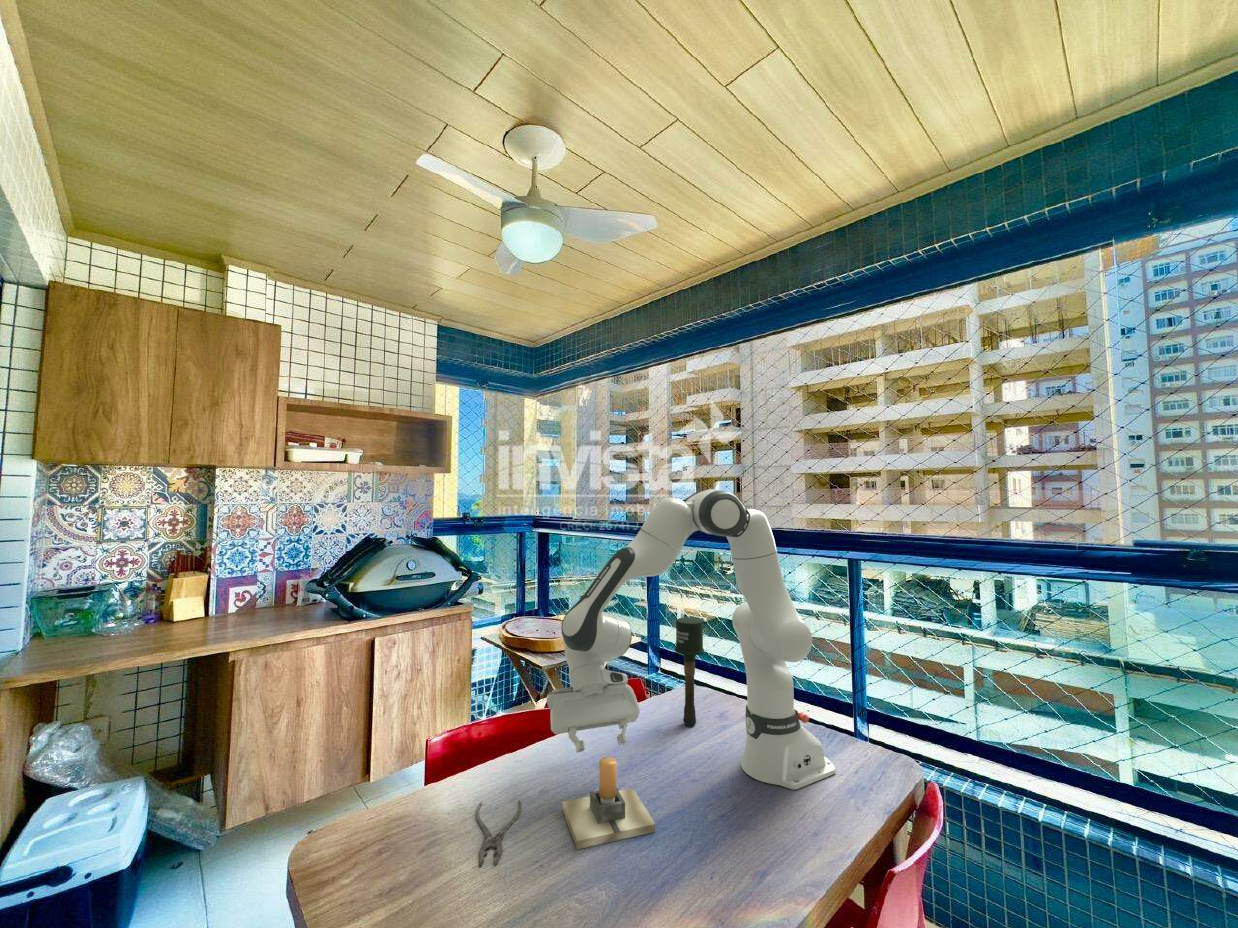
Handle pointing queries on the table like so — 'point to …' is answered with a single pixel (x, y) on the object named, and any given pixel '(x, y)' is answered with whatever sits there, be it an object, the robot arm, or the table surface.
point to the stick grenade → (689, 659)
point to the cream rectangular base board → (606, 818)
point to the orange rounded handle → (607, 780)
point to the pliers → (491, 840)
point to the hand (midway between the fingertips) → (601, 747)
